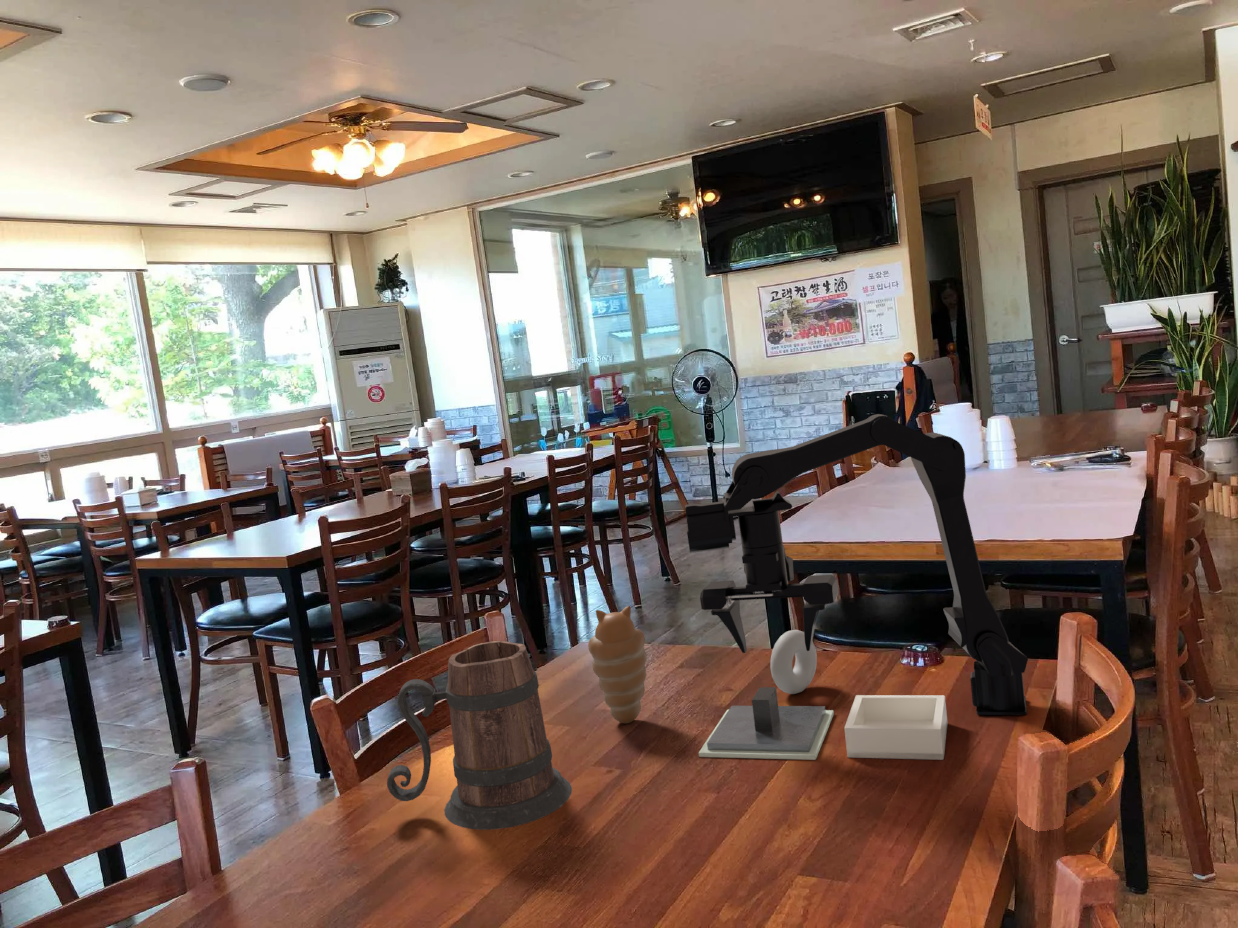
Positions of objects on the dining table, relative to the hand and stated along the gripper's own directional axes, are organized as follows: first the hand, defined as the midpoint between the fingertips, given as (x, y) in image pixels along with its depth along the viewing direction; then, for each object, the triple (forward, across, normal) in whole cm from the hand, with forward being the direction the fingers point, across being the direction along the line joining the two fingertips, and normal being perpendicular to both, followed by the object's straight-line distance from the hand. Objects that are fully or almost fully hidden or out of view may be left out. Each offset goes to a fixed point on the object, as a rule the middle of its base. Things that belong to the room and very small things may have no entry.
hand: (776, 651), depth 140 cm
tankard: (+11, +35, +26) cm, 45 cm away
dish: (+12, -16, +3) cm, 20 cm away
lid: (+11, +2, +2) cm, 11 cm away
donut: (+12, +1, -15) cm, 19 cm away
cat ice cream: (+11, +25, -2) cm, 28 cm away
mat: (+12, +2, +2) cm, 12 cm away
